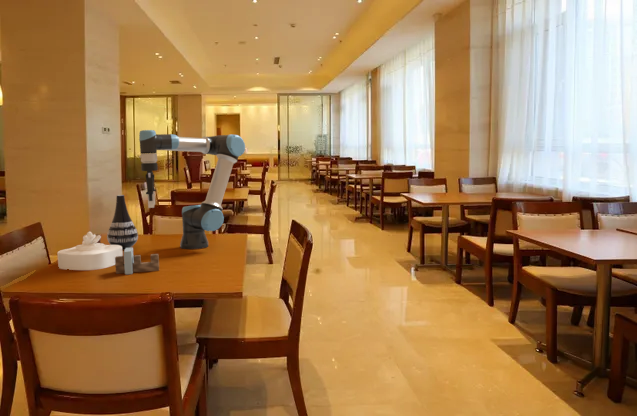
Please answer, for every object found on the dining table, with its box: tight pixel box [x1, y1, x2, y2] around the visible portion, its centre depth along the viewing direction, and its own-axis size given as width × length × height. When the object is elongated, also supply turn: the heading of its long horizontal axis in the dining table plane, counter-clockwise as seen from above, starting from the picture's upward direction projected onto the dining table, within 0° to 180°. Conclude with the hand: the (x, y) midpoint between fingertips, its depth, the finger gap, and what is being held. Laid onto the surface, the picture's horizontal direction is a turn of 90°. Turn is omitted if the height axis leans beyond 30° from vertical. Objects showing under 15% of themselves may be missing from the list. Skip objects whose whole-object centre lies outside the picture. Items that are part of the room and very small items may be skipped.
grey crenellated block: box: [114, 253, 160, 274], centre depth 234 cm, size 18×3×7 cm, turn 105°
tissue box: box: [56, 231, 124, 271], centre depth 250 cm, size 25×25×16 cm
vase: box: [106, 194, 139, 251], centre depth 289 cm, size 16×16×30 cm
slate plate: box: [123, 246, 134, 275], centre depth 233 cm, size 10×3×10 cm, turn 15°
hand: (151, 206), depth 256 cm, fingers open, 13 cm apart
